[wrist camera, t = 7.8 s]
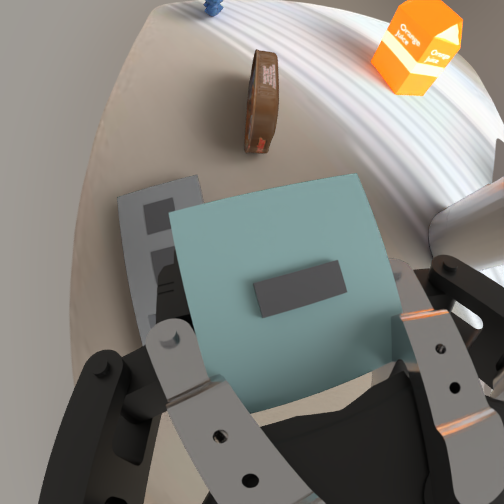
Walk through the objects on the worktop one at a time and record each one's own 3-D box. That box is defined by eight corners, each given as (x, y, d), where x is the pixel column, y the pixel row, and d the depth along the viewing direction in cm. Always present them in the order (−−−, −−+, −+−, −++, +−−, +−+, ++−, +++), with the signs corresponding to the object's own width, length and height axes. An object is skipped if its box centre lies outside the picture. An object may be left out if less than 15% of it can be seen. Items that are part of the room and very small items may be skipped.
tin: (249, 80, 35) (252, 37, 26) (270, 82, 35) (278, 39, 26) (242, 166, 31) (245, 122, 23) (269, 167, 32) (280, 125, 23)
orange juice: (399, 64, 39) (440, -5, 19) (423, 96, 37) (476, 27, 18) (369, 61, 38) (409, -18, 18) (394, 94, 36) (449, 13, 17)
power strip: (126, 206, 30) (114, 195, 26) (200, 186, 31) (196, 171, 27) (168, 398, 26) (160, 409, 22) (250, 382, 27) (252, 392, 23)
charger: (288, 251, 15) (360, 169, 6) (310, 332, 14) (415, 352, 5) (206, 272, 14) (166, 209, 6) (228, 355, 14) (221, 423, 5)
